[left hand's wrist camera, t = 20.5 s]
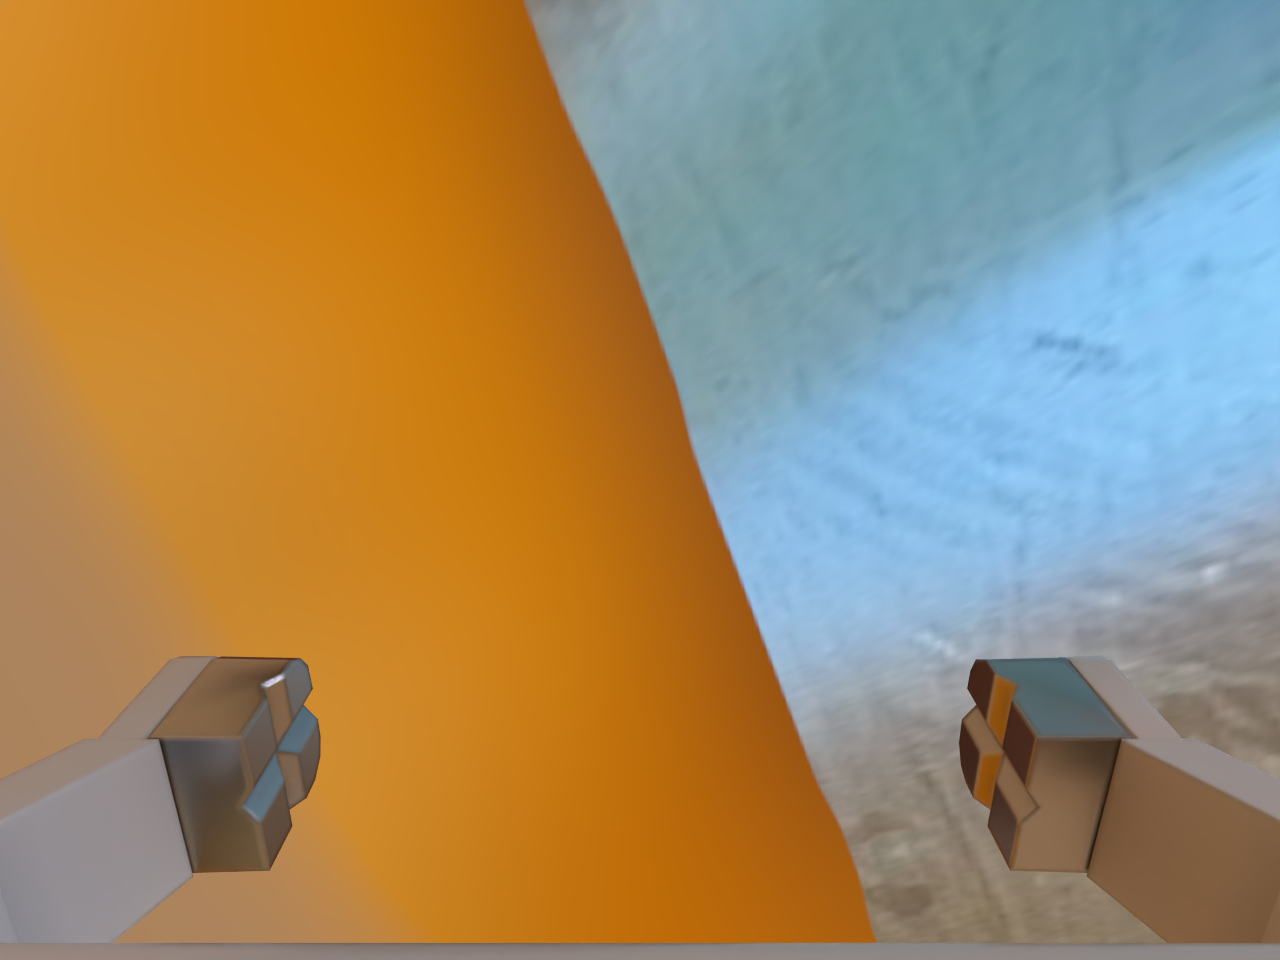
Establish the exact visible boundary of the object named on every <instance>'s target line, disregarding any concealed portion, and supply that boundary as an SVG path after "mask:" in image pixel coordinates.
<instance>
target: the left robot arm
mask: <svg viewBox="0 0 1280 960" xmlns="http://www.w3.org/2000/svg"><path fill="white" fill-rule="evenodd" d="M312 689H313V688H312V683H311V678H310V673H309V668H308V665H307V664H306V663H305V662H304V661H303V660H302V659H301V658H264V657H216V656H189V657H177V658H174V659H170V660H169V661H168V662H167V663H166V664H165V665H164V667H163V668H162V669H161V670H160V671H159V672H158V673H157V674H156V675H155V676H154V678H153V679H152V680H151V681H150V682H149V683H148V684H147V685H146V686H145V687H144V689H143V690H142V691H141V692H140V693H139V694H138V695H137V696H136V697H135V698H134V699H133V701H132V702H131V703H130V704H129V705H128V706H127V707H126V708H125V709H124V710H123V712H122V713H121V714H120V715H119V716H118V717H117V718H116V719H115V720H114V722H113V723H112V724H111V725H110V726H109V727H108V728H107V729H106V730H105V731H104V732H103V734H102V735H101V736H100V737H99V738H98V739H83V740H81V741H79V742H77V743H75V744H73V745H71V746H68V747H66V748H64V749H62V750H60V751H58V752H56V753H54V754H52V755H50V756H48V757H46V758H44V759H42V760H39V761H37V762H35V763H33V764H31V765H29V766H27V767H25V768H23V769H21V770H19V771H17V772H15V773H13V774H10V775H8V776H7V777H4V778H2V779H0V960H1280V779H1278V778H1276V777H1273V776H1271V775H1269V774H1267V773H1265V772H1263V771H1261V770H1259V769H1257V768H1255V767H1253V766H1251V765H1249V764H1247V763H1245V762H1242V761H1240V760H1238V759H1236V758H1234V757H1232V756H1230V755H1228V754H1226V753H1224V752H1222V751H1220V750H1218V749H1216V748H1214V747H1212V746H1209V745H1207V744H1205V743H1203V742H1201V741H1199V740H1197V739H1182V738H1181V737H1180V736H1179V735H1178V734H1177V732H1176V731H1175V730H1174V729H1173V728H1172V727H1171V726H1170V725H1169V724H1168V723H1167V721H1166V720H1165V719H1164V718H1163V717H1162V716H1161V715H1160V714H1159V713H1158V712H1157V710H1156V709H1155V708H1154V707H1153V706H1152V705H1151V704H1150V703H1149V702H1148V701H1147V699H1146V698H1145V697H1144V696H1143V695H1142V694H1141V693H1140V692H1139V691H1138V690H1137V688H1136V687H1135V686H1134V685H1133V684H1132V683H1131V682H1130V681H1129V680H1128V679H1127V677H1126V676H1125V675H1124V674H1123V673H1122V672H1121V671H1120V670H1119V669H1118V668H1117V666H1116V665H1115V664H1114V663H1113V662H1112V661H1111V660H1109V659H1107V658H1104V657H1102V656H1081V657H1059V658H1025V659H977V660H976V661H975V663H974V665H973V667H972V669H971V671H970V677H969V682H968V687H967V689H968V691H969V692H970V694H971V696H972V698H973V699H974V701H975V703H976V704H977V705H976V706H975V707H974V708H973V709H972V710H971V711H970V712H969V713H968V714H967V715H966V716H965V717H964V718H963V719H962V724H961V732H960V740H959V747H960V759H961V767H962V770H963V774H964V777H965V781H966V783H967V785H968V788H969V790H970V792H971V794H972V796H973V798H974V799H976V800H977V801H979V802H980V803H982V804H983V805H984V806H986V807H987V808H989V809H990V816H989V822H988V828H989V830H990V832H991V834H992V835H993V837H994V839H995V841H996V843H997V845H998V847H999V849H1000V851H1001V853H1002V855H1003V857H1004V859H1005V861H1006V863H1007V865H1008V867H1009V869H1010V870H1011V871H1041V872H1077V873H1087V877H1088V878H1089V879H1091V880H1092V881H1093V882H1094V883H1096V884H1097V885H1098V886H1099V887H1100V888H1102V889H1103V890H1104V891H1105V892H1107V893H1108V894H1109V895H1110V896H1111V897H1113V898H1114V899H1115V900H1116V901H1117V902H1119V903H1120V904H1121V905H1122V906H1124V907H1125V908H1126V909H1127V910H1128V911H1130V912H1131V913H1132V914H1133V915H1134V916H1136V917H1137V918H1138V919H1139V920H1141V921H1142V922H1143V923H1144V924H1145V925H1147V926H1148V927H1149V928H1150V929H1151V930H1153V931H1154V932H1155V933H1156V934H1158V935H1159V936H1160V937H1161V938H1162V939H1164V940H1165V941H1166V942H1167V943H113V942H114V941H115V940H117V939H118V938H119V937H120V936H121V935H123V934H124V933H125V932H126V931H128V930H129V929H130V928H131V927H132V926H134V925H135V924H136V923H137V922H139V921H140V920H141V919H142V918H143V917H145V916H146V915H147V914H148V913H149V912H151V911H152V910H153V909H154V908H156V907H157V906H158V905H159V904H160V903H162V902H163V901H164V900H165V899H167V898H168V897H169V896H170V895H171V894H173V893H174V892H175V891H176V890H177V889H179V888H180V887H181V886H182V885H184V884H185V883H186V882H187V881H188V880H190V879H191V878H192V877H193V874H192V873H202V872H237V871H269V870H270V869H271V867H272V865H273V863H274V861H275V859H276V857H277V855H278V853H279V851H280V849H281V847H282V845H283V843H284V841H285V839H286V837H287V835H288V833H289V832H290V830H291V828H292V822H291V816H290V809H291V808H293V807H294V806H296V805H297V804H298V803H300V802H301V801H303V800H304V799H306V798H307V796H308V794H309V792H310V789H311V787H312V785H313V783H314V781H315V778H316V773H317V769H318V764H319V760H320V730H319V724H318V719H317V718H316V717H315V716H314V715H313V714H312V713H311V712H310V711H309V710H308V709H307V708H306V707H305V706H304V705H303V704H304V703H305V701H306V699H307V698H308V696H309V694H310V692H311V691H312Z"/></svg>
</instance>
